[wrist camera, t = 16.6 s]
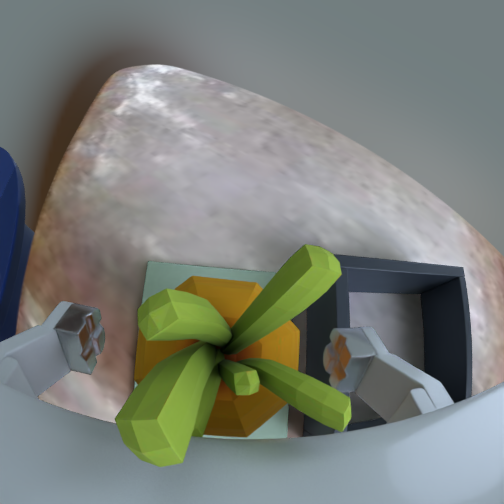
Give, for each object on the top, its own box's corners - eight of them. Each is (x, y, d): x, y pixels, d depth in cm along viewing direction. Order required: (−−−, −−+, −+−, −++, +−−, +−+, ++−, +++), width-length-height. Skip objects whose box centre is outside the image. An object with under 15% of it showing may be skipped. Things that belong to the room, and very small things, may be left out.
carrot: (239, 310, 18) (329, 145, 4) (264, 382, 16) (443, 435, 3) (165, 331, 17) (20, 219, 3) (189, 404, 15) (114, 552, 1)
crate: (302, 439, 15) (331, 461, 11) (306, 279, 20) (333, 253, 15) (428, 414, 17) (469, 417, 12) (425, 285, 21) (463, 266, 17)
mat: (134, 432, 14) (133, 434, 14) (149, 262, 19) (148, 260, 18) (285, 443, 15) (286, 444, 15) (290, 275, 20) (291, 273, 19)
